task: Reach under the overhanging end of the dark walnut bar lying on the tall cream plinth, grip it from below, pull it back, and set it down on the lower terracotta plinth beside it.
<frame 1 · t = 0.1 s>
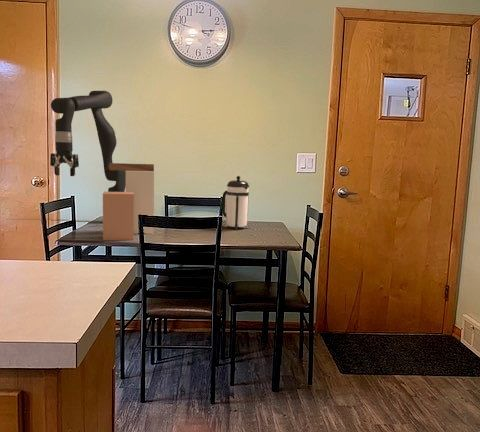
hand: (64, 175, 213), 29 cm above the table, tool pointing down, fingers open, 8 cm apart
coffee press: (234, 228, 257), on the table
walnut bar: (131, 170, 228), point 32 cm above the table, touching tall plinth
tall plinth: (139, 232, 233), on the table
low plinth: (118, 237, 217), on the table
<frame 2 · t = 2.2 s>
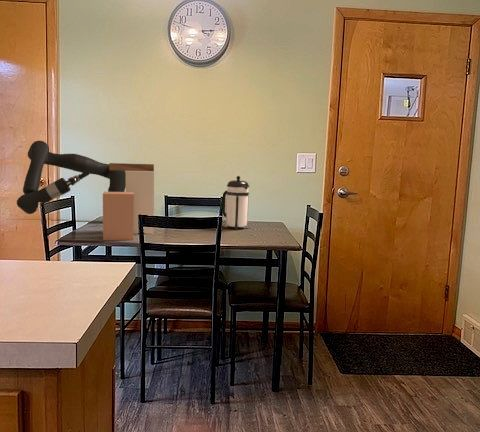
hand: (87, 173, 223), 30 cm above the table, tool pointing upward, fingers open, 8 cm apart
nothing on the table moved.
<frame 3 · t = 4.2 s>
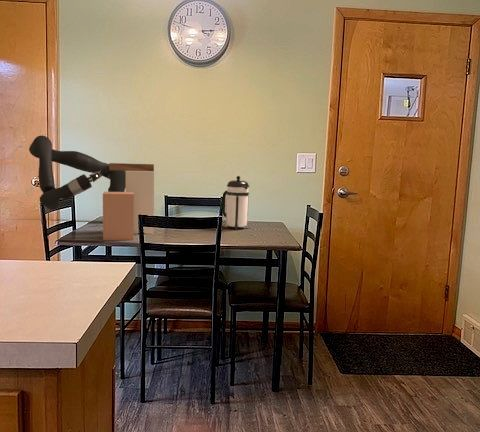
hand: (108, 169, 225), 32 cm above the table, tool pointing upward, fingers open, 8 cm apart
nothing on the table moved.
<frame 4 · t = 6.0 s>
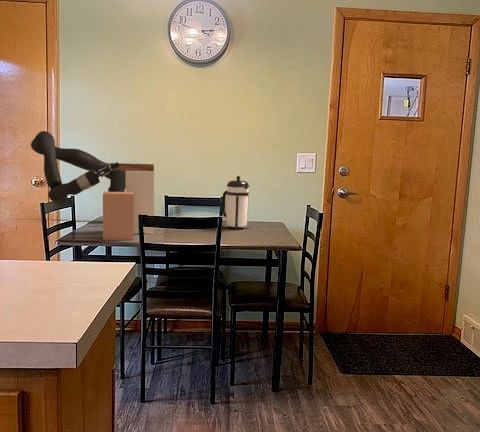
hand: (118, 164, 226), 35 cm above the table, tool pointing upward, fingers closed on walnut bar, 3 cm apart
walnut bar: (131, 170, 228), point 32 cm above the table, touching gripper, tall plinth
everything else where it was.
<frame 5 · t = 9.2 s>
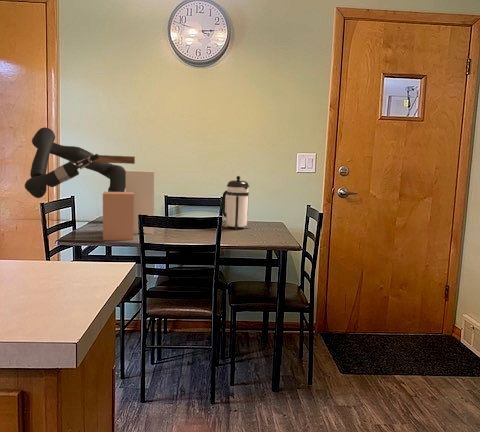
hand: (98, 155, 220), 39 cm above the table, tool pointing upward, fingers closed on walnut bar, 3 cm apart
walnut bar: (111, 162, 222), point 36 cm above the table, touching gripper
everything else where it was.
when the fingers open (27 cm above the table, at t = 12.3 s): walnut bar drops 1 cm, resting on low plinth.
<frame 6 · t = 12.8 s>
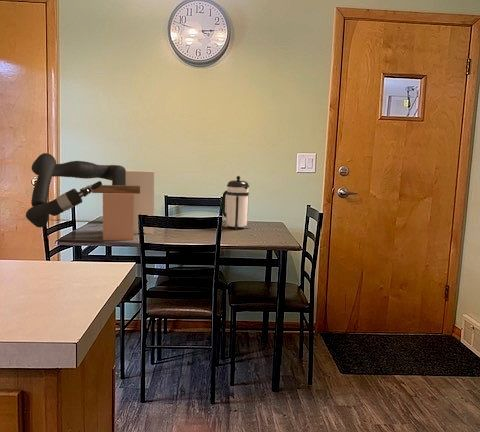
hand: (100, 183, 211), 26 cm above the table, tool pointing upward, fingers open, 8 cm apart
walnut bar: (116, 192, 213), point 22 cm above the table, touching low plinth
everything else where it was.
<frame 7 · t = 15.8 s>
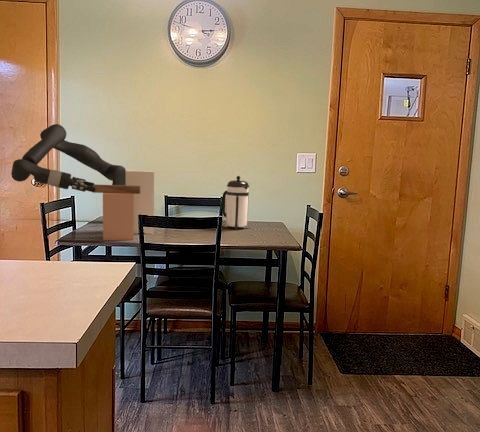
hand: (94, 187, 214), 24 cm above the table, tool horizontal, fingers open, 8 cm apart
walnut bar: (116, 192, 213), point 22 cm above the table, touching gripper
everything else where it was.
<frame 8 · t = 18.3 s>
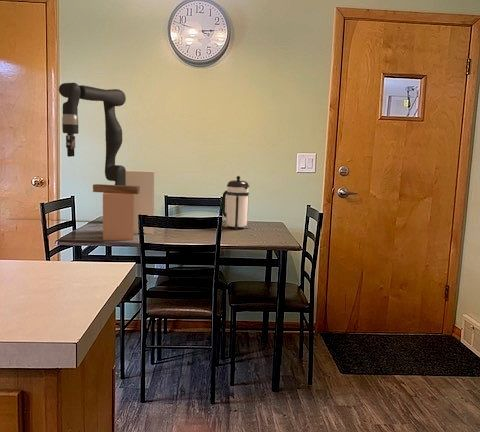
hand: (70, 156, 225), 38 cm above the table, tool pointing down, fingers open, 8 cm apart
walnut bar: (116, 192, 214), point 22 cm above the table, touching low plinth
everything else where it was.
at the end: walnut bar inside the target area on the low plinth (1.0 cm from its centre), point 22.0 cm above the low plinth's base; walnut bar touching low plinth; the gripper is holding nothing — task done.
